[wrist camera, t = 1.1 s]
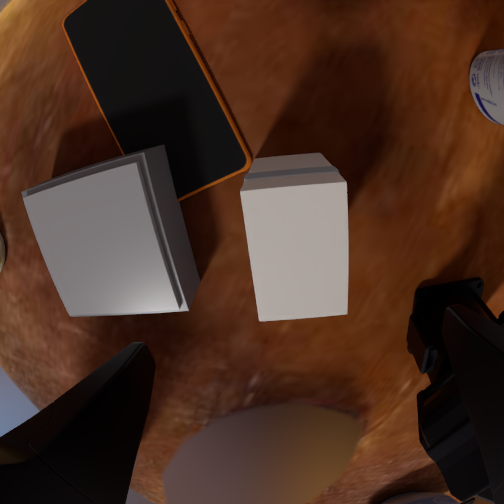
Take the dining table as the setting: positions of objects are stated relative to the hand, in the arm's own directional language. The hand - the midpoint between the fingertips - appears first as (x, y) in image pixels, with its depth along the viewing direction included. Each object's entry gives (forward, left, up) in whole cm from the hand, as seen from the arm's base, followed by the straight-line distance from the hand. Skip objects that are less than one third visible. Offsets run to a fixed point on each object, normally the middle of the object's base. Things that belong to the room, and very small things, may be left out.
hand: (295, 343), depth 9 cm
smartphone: (+7, -10, -14) cm, 18 cm away
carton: (0, 0, -13) cm, 13 cm away
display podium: (+12, 0, -13) cm, 17 cm away
